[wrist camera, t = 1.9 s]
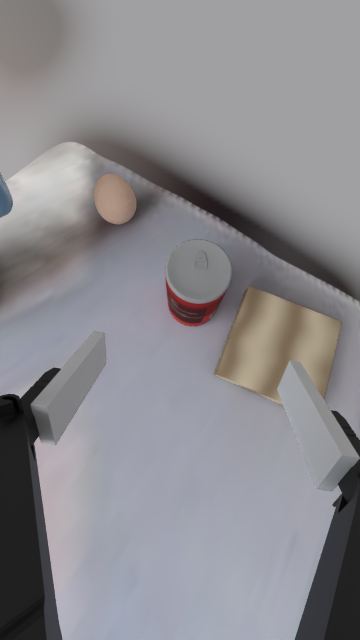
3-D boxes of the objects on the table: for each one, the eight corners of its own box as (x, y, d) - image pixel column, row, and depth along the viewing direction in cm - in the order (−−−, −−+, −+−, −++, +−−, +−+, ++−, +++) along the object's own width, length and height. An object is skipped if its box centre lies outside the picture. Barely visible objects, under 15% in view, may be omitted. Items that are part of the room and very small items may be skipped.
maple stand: (212, 374, 32) (216, 373, 29) (243, 293, 36) (249, 285, 33) (306, 416, 31) (319, 419, 28) (327, 327, 35) (341, 321, 32)
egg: (98, 208, 40) (80, 167, 33) (133, 199, 41) (123, 156, 34) (107, 237, 39) (91, 201, 31) (144, 227, 40) (136, 189, 32)
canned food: (209, 277, 37) (223, 233, 26) (221, 323, 35) (241, 295, 24) (164, 284, 36) (159, 243, 26) (172, 331, 34) (171, 306, 24)
